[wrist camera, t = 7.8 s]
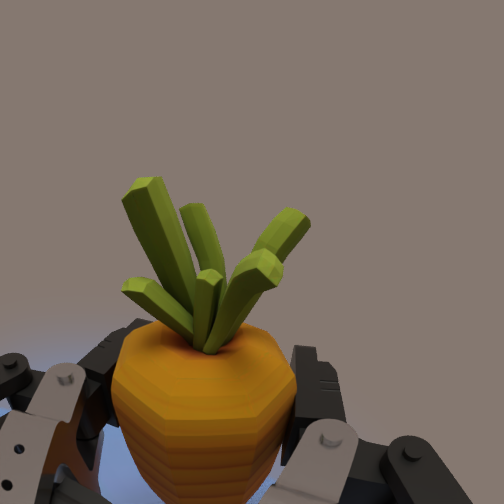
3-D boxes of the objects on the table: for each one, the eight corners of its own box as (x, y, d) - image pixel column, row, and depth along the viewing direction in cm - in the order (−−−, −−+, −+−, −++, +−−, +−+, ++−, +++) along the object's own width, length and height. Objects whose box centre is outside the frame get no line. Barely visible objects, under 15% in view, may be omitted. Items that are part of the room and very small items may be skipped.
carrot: (263, 491, 11) (324, 190, 8) (246, 563, 7) (354, 194, 3) (176, 470, 12) (162, 177, 9) (142, 534, 7) (38, 176, 4)
